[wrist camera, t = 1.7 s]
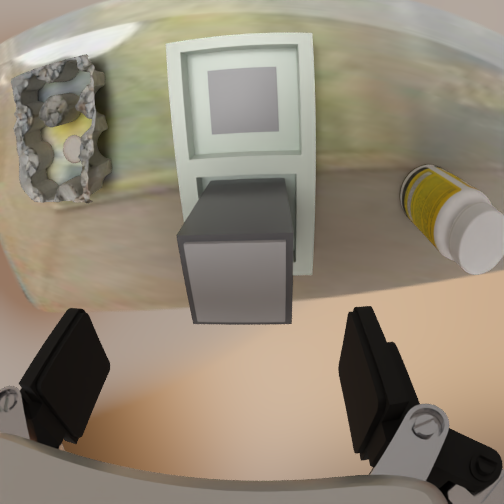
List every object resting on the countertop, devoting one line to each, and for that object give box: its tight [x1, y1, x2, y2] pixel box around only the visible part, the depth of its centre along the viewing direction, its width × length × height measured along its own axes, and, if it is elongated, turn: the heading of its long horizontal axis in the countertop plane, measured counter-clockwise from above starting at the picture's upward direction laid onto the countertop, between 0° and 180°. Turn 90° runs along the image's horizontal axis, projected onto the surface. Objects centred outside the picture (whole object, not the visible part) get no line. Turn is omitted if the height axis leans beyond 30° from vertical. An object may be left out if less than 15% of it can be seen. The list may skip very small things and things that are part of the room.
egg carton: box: [11, 54, 112, 203], centre depth 18 cm, size 11×8×4 cm
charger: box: [177, 178, 293, 324], centre depth 17 cm, size 5×5×8 cm
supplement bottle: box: [400, 165, 504, 275], centre depth 17 cm, size 5×5×8 cm
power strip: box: [166, 33, 316, 275], centre depth 19 cm, size 15×8×4 cm, turn 3°
